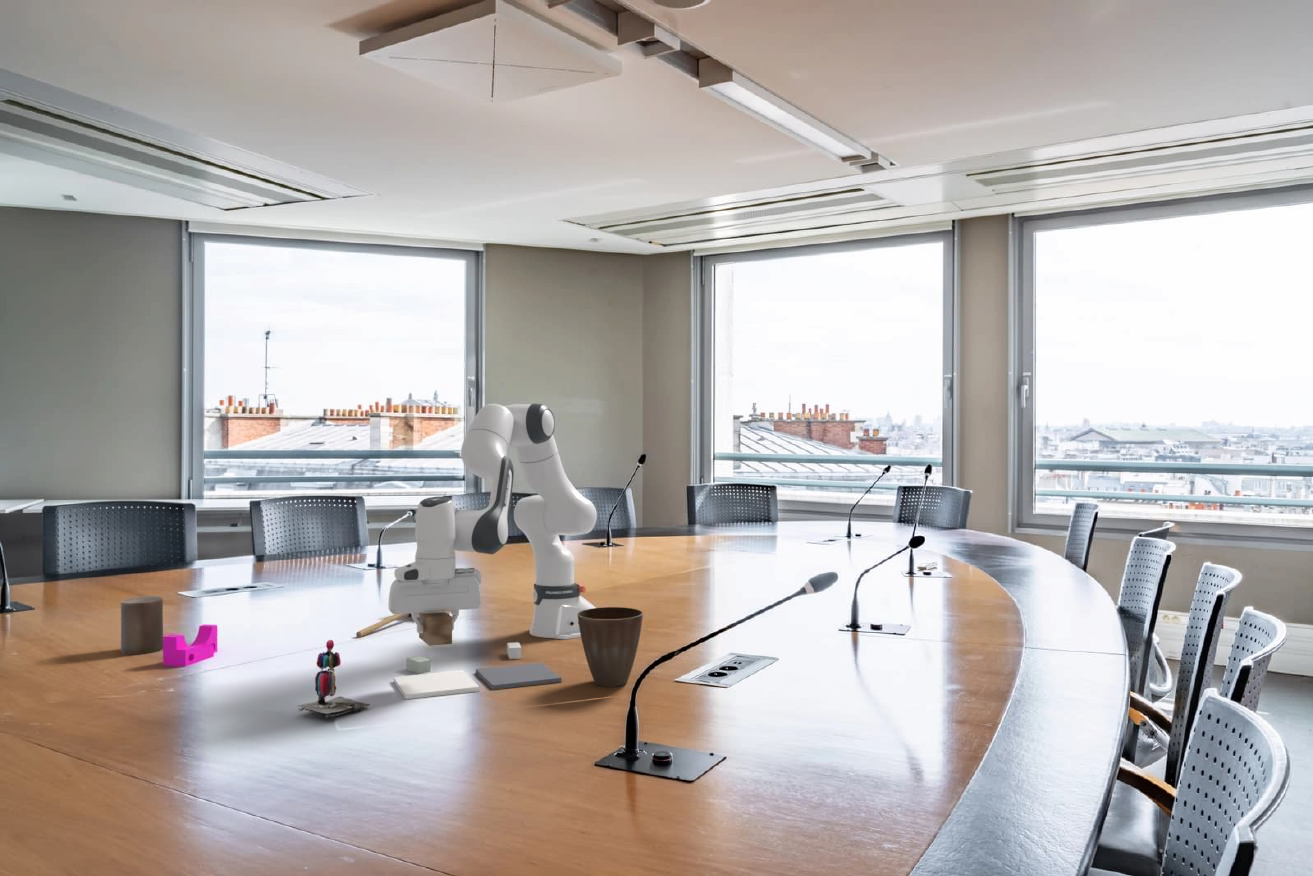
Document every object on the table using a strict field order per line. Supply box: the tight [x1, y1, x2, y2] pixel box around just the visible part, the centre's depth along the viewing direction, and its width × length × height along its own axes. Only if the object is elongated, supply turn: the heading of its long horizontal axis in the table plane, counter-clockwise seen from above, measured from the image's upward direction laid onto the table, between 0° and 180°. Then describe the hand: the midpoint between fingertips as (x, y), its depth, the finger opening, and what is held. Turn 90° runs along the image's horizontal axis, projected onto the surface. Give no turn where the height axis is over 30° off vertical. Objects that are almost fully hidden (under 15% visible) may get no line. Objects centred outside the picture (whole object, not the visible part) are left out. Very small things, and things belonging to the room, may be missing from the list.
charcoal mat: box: [475, 661, 562, 691], centre depth 223 cm, size 16×16×1 cm
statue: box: [297, 639, 371, 718], centre depth 195 cm, size 11×9×15 cm
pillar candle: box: [120, 594, 164, 656], centre depth 248 cm, size 10×10×15 cm
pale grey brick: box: [506, 641, 522, 660], centre depth 244 cm, size 6×3×3 cm, turn 14°
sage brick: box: [405, 655, 431, 675], centre depth 229 cm, size 6×3×3 cm, turn 44°
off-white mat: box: [393, 669, 480, 700], centre depth 215 cm, size 16×16×1 cm
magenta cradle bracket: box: [162, 624, 218, 668], centre depth 240 cm, size 15×6×8 cm, turn 168°
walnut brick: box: [418, 611, 453, 647], centre depth 215 cm, size 5×10×6 cm, turn 27°
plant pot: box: [577, 606, 644, 688], centre depth 218 cm, size 15×15×16 cm
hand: (435, 631), depth 215 cm, fingers closed on walnut brick, 5 cm apart
